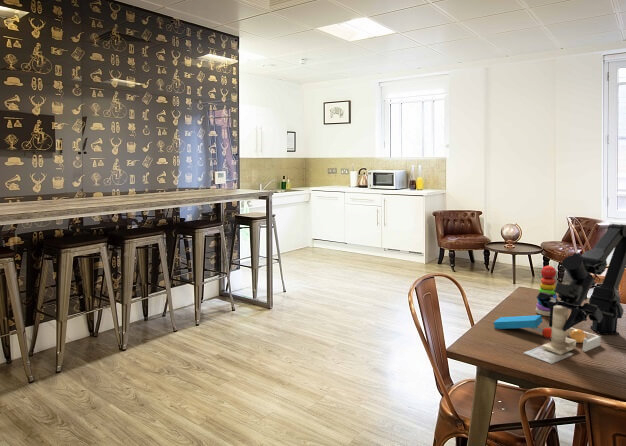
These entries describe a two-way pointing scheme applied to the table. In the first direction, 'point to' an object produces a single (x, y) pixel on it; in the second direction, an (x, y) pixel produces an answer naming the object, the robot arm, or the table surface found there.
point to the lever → (523, 323)
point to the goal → (587, 339)
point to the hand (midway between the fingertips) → (556, 328)
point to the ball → (578, 335)
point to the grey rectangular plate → (547, 355)
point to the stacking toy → (546, 288)
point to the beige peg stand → (559, 332)
